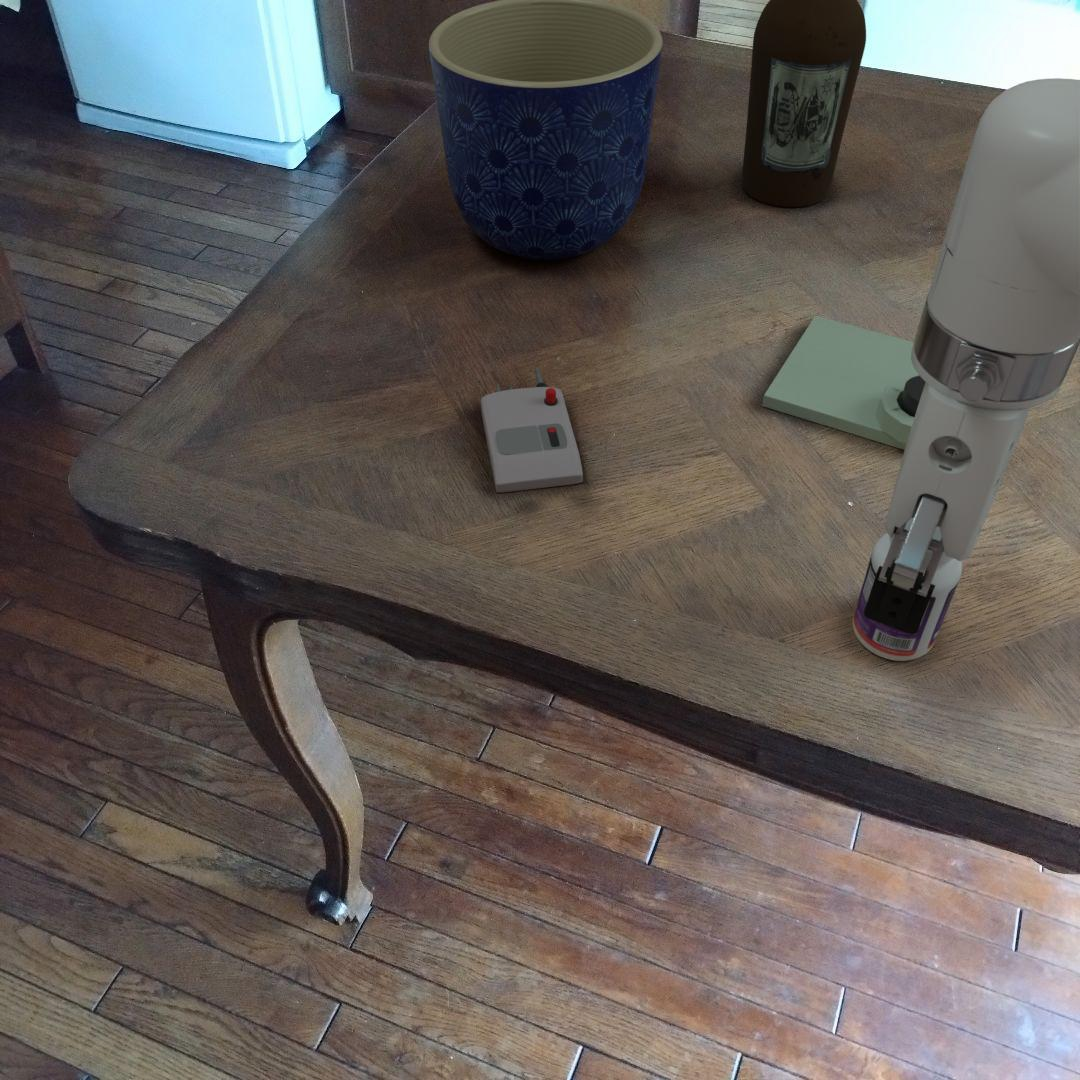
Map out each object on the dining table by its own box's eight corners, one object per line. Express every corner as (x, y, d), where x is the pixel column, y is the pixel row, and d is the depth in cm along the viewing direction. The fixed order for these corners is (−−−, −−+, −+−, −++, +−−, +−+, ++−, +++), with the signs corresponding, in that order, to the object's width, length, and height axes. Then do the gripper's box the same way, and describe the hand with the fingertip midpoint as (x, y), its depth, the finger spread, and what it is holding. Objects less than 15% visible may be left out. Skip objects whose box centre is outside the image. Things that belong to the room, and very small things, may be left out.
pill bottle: (898, 590, 73) (934, 486, 66) (952, 645, 69) (995, 541, 62) (833, 617, 71) (863, 513, 64) (885, 675, 68) (923, 571, 61)
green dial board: (995, 376, 89) (1006, 347, 87) (956, 473, 81) (967, 443, 79) (812, 326, 95) (818, 297, 93) (758, 411, 87) (763, 382, 84)
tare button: (952, 401, 83) (958, 383, 82) (941, 427, 81) (947, 409, 80) (906, 388, 84) (912, 370, 83) (894, 413, 82) (899, 395, 81)
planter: (667, 196, 112) (682, 5, 98) (624, 301, 98) (635, 96, 84) (481, 173, 116) (471, -14, 102) (415, 271, 102) (393, 70, 89)
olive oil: (734, 161, 117) (765, -93, 99) (831, 165, 116) (881, -91, 98) (736, 209, 110) (770, -57, 92) (840, 213, 109) (895, -54, 91)
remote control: (499, 510, 79) (497, 480, 77) (475, 383, 90) (473, 354, 87) (587, 499, 79) (588, 469, 77) (553, 375, 90) (552, 346, 88)
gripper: (1037, 465, 47) (936, 694, 60) (1098, 279, 58) (1002, 506, 70) (871, 415, 50) (808, 645, 62) (959, 245, 60) (890, 470, 73)
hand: (911, 571), depth 66 cm, fingers open, 9 cm apart
